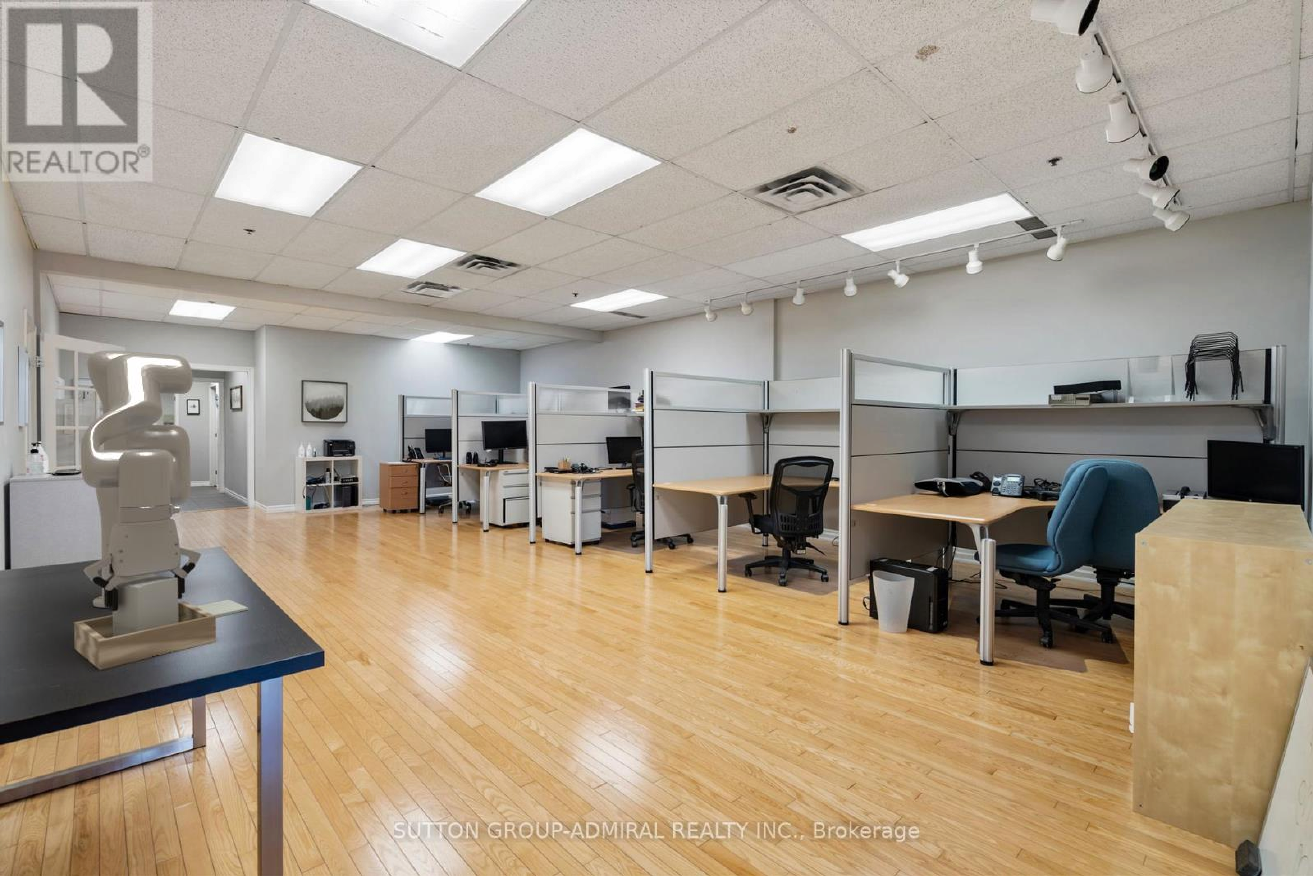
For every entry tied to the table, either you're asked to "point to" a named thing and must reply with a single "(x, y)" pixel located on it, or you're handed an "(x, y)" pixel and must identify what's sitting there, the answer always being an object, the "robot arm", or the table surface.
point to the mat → (222, 607)
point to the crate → (142, 638)
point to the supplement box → (145, 604)
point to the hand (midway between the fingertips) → (146, 603)
